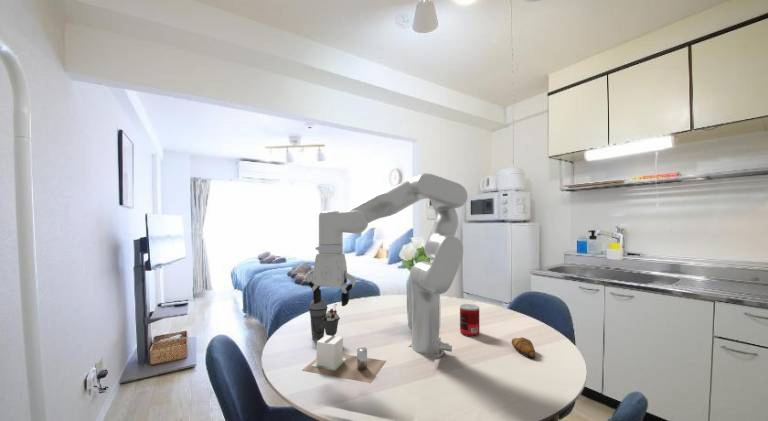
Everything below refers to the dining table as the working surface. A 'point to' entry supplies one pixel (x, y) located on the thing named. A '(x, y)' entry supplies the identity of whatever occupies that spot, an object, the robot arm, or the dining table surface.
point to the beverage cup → (317, 318)
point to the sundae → (331, 322)
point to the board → (349, 369)
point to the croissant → (524, 346)
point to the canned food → (469, 319)
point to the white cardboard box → (329, 351)
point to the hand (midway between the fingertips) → (330, 303)
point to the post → (361, 359)
